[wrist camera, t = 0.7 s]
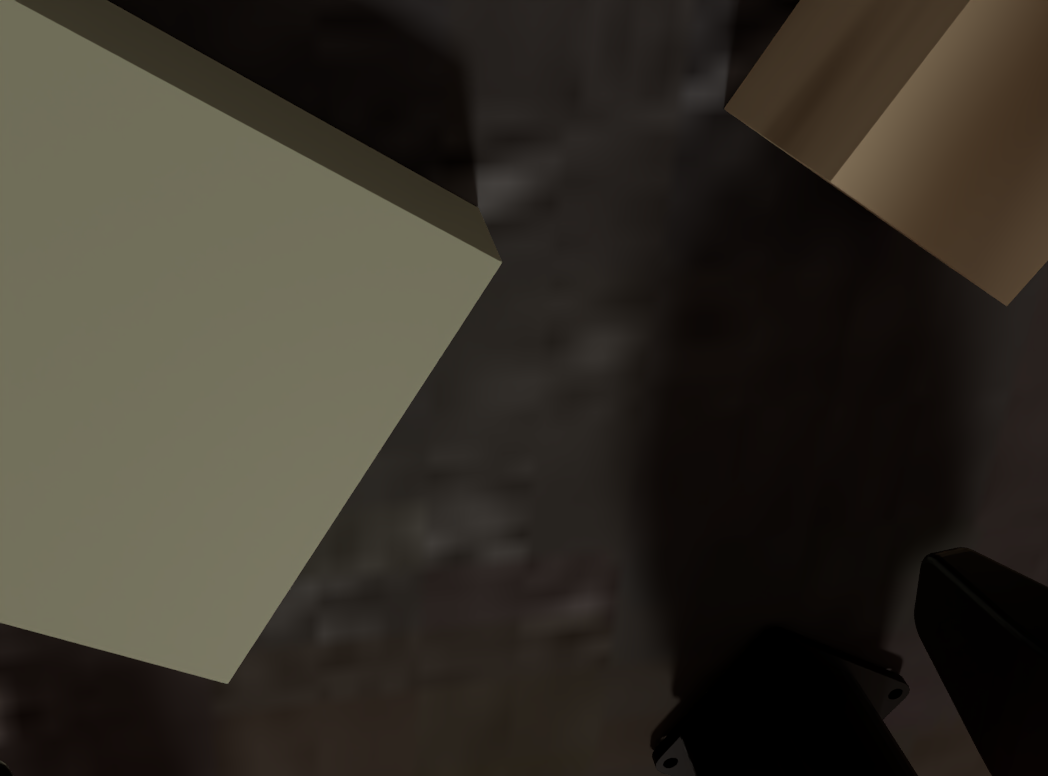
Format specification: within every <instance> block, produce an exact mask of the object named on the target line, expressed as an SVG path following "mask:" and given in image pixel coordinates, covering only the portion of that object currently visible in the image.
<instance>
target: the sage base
mask: <svg viewBox="0 0 1048 776" xmlns="http://www.w3.org/2000/svg"><path fill="white" fill-rule="evenodd" d="M501 264H502V261H501V259H500V256H499V254H498V252H497V249H496V247H495V245H494V242H493V240H492V238H491V236H490V233H489V231H488V229H487V226H486V224H485V222H484V220H483V217H482V215H481V213H480V210H479V208H478V207H476V206H474V205H472V204H470V203H469V202H467V201H465V200H463V199H461V198H460V197H458V196H456V195H454V194H453V193H451V192H449V191H447V190H445V189H444V188H442V187H440V186H438V185H436V184H435V183H433V182H431V181H429V180H427V179H426V178H424V177H422V176H420V175H419V174H417V173H415V172H413V171H411V170H410V169H408V168H406V167H404V166H402V165H401V164H399V163H397V162H395V161H394V160H392V159H390V158H388V157H386V156H385V155H383V154H381V153H379V152H377V151H376V150H374V149H372V148H370V147H368V146H367V145H365V144H363V143H361V142H360V141H358V140H356V139H354V138H352V137H351V136H349V135H347V134H345V133H343V132H342V131H340V130H338V129H336V128H335V127H333V126H331V125H329V124H327V123H326V122H324V121H322V120H320V119H318V118H317V117H315V116H313V115H311V114H309V113H308V112H306V111H304V110H302V109H301V108H299V107H297V106H295V105H293V104H292V103H290V102H288V101H286V100H284V99H283V98H281V97H279V96H277V95H276V94H274V93H272V92H270V91H268V90H267V89H265V88H263V87H261V86H259V85H258V84H256V83H254V82H252V81H250V80H249V79H247V78H245V77H243V76H242V75H240V74H238V73H236V72H234V71H233V70H231V69H229V68H227V67H225V66H224V65H222V64H220V63H218V62H217V61H215V60H213V59H211V58H209V57H208V56H206V55H204V54H202V53H200V52H199V51H197V50H195V49H193V48H191V47H190V46H188V45H186V44H184V43H183V42H181V41H179V40H177V39H175V38H174V37H172V36H170V35H168V34H166V33H165V32H163V31H161V30H159V29H158V28H156V27H154V26H152V25H150V24H149V23H147V22H145V21H143V20H141V19H140V18H138V17H136V16H134V15H132V14H131V13H129V12H127V11H125V10H124V9H122V8H120V7H118V6H116V5H115V4H113V3H111V2H109V1H107V0H0V623H3V624H7V625H11V626H15V627H18V628H22V629H26V630H29V631H33V632H37V633H41V634H44V635H48V636H52V637H55V638H59V639H63V640H66V641H70V642H74V643H78V644H81V645H85V646H89V647H92V648H96V649H100V650H104V651H107V652H111V653H115V654H118V655H122V656H126V657H130V658H133V659H137V660H141V661H144V662H148V663H152V664H155V665H159V666H163V667H167V668H170V669H174V670H178V671H181V672H185V673H189V674H193V675H196V676H200V677H204V678H207V679H211V680H215V681H219V682H222V683H226V684H228V683H229V681H230V680H231V678H232V677H233V675H234V674H235V672H236V670H237V669H238V667H239V666H240V664H241V663H242V661H243V660H244V658H245V657H246V655H247V654H248V652H249V651H250V649H251V647H252V646H253V644H254V643H255V641H256V640H257V638H258V637H259V635H260V634H261V632H262V631H263V629H264V627H265V626H266V624H267V623H268V621H269V620H270V618H271V617H272V615H273V614H274V612H275V611H276V609H277V608H278V606H279V604H280V603H281V601H282V600H283V598H284V597H285V595H286V594H287V592H288V591H289V589H290V588H291V586H292V584H293V583H294V581H295V580H296V578H297V577H298V575H299V574H300V572H301V571H302V569H303V568H304V566H305V565H306V563H307V561H308V560H309V558H310V557H311V555H312V554H313V552H314V551H315V549H316V548H317V546H318V545H319V543H320V541H321V540H322V538H323V537H324V535H325V534H326V532H327V531H328V529H329V528H330V526H331V525H332V523H333V522H334V520H335V518H336V517H337V515H338V514H339V512H340V511H341V509H342V508H343V506H344V505H345V503H346V502H347V500H348V498H349V497H350V495H351V494H352V492H353V491H354V489H355V488H356V486H357V485H358V483H359V482H360V480H361V479H362V477H363V475H364V474H365V472H366V471H367V469H368V468H369V466H370V465H371V463H372V462H373V460H374V459H375V457H376V455H377V454H378V452H379V451H380V449H381V448H382V446H383V445H384V443H385V442H386V440H387V439H388V437H389V436H390V434H391V432H392V431H393V429H394V428H395V426H396V425H397V423H398V422H399V420H400V419H401V417H402V416H403V414H404V412H405V411H406V409H407V408H408V406H409V405H410V403H411V402H412V400H413V399H414V397H415V396H416V394H417V393H418V391H419V389H420V388H421V386H422V385H423V383H424V382H425V380H426V379H427V377H428V376H429V374H430V373H431V371H432V369H433V368H434V366H435V365H436V363H437V362H438V360H439V359H440V357H441V356H442V354H443V353H444V351H445V350H446V348H447V346H448V345H449V343H450V342H451V340H452V339H453V337H454V336H455V334H456V333H457V331H458V330H459V328H460V326H461V325H462V323H463V322H464V320H465V319H466V317H467V316H468V314H469V313H470V311H471V310H472V308H473V307H474V305H475V303H476V302H477V300H478V299H479V297H480V296H481V294H482V293H483V291H484V290H485V288H486V287H487V285H488V283H489V282H490V280H491V279H492V277H493V276H494V274H495V273H496V271H497V270H498V268H499V267H500V265H501Z"/></svg>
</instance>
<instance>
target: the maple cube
mask: <svg viewBox="0 0 1048 776" xmlns="http://www.w3.org/2000/svg"><path fill="white" fill-rule="evenodd" d="M724 110H726V111H727V112H729V113H730V114H732V115H733V116H734V117H736V118H737V119H739V120H740V121H741V122H743V123H744V124H746V125H747V126H749V127H750V128H751V129H753V130H754V131H756V132H757V133H759V134H760V135H761V136H763V137H764V138H766V139H767V140H768V141H770V142H771V143H773V144H774V145H776V146H777V147H778V148H780V149H781V150H783V151H784V152H786V153H787V154H788V155H790V156H791V157H793V158H794V159H795V160H797V161H798V162H800V163H801V164H803V165H804V166H805V167H807V168H808V169H810V170H811V171H812V172H814V173H815V174H817V175H818V176H820V177H821V178H822V179H824V180H825V181H827V182H828V183H830V184H831V185H832V186H834V187H835V188H837V189H838V190H839V191H841V192H842V193H844V194H845V195H847V196H848V197H849V198H851V199H852V200H854V201H855V202H856V203H858V204H859V205H861V206H862V207H864V208H865V209H866V210H868V211H869V212H871V213H872V214H874V215H875V216H876V217H878V218H879V219H881V220H882V221H884V222H885V223H887V224H888V225H889V226H891V227H892V228H894V229H895V230H897V231H898V232H900V233H901V234H903V235H904V236H905V237H907V238H908V239H910V240H911V241H913V242H914V243H916V244H917V245H919V246H920V247H921V248H923V249H924V250H926V251H927V252H929V253H930V254H932V255H933V256H934V257H936V258H937V259H939V260H940V261H942V262H943V263H945V264H946V265H948V266H949V267H950V268H952V269H953V270H955V271H956V272H958V273H959V274H961V275H962V276H964V277H965V278H966V279H968V280H969V281H971V282H972V283H974V284H975V285H977V286H978V287H980V288H981V289H982V290H984V291H985V292H987V293H988V294H990V295H991V296H993V297H994V298H996V299H997V300H998V301H1000V302H1001V303H1003V304H1004V305H1006V306H1007V305H1008V304H1009V303H1010V302H1011V301H1012V300H1013V299H1014V298H1015V296H1016V295H1017V294H1018V293H1019V292H1020V291H1021V290H1022V289H1023V287H1024V286H1025V285H1026V284H1027V283H1028V282H1029V281H1030V280H1031V278H1032V277H1033V276H1034V275H1035V274H1036V273H1037V272H1038V271H1039V269H1040V268H1041V267H1042V266H1043V265H1044V264H1045V263H1046V262H1047V261H1048V0H800V1H799V3H798V4H797V5H796V7H795V8H794V10H793V11H792V13H791V14H790V15H789V17H788V18H787V20H786V21H785V23H784V24H783V25H782V27H781V28H780V30H779V31H778V32H777V34H776V35H775V37H774V38H773V40H772V41H771V42H770V44H769V45H768V47H767V48H766V50H765V51H764V52H763V54H762V55H761V57H760V58H759V60H758V61H757V62H756V64H755V65H754V67H753V68H752V70H751V71H750V72H749V74H748V75H747V77H746V78H745V79H744V81H743V82H742V84H741V85H740V87H739V88H738V89H737V91H736V92H735V94H734V95H733V97H732V98H731V99H730V101H729V102H728V104H727V105H726V107H725V108H724Z"/></svg>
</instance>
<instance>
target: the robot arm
mask: <svg viewBox="0 0 1048 776" xmlns="http://www.w3.org/2000/svg"><path fill="white" fill-rule="evenodd" d="M914 619H915V625H916V629H917V632H918V634H919V637H920V639H921V641H922V643H923V645H924V647H925V649H926V650H927V652H928V654H929V656H930V658H931V660H932V662H933V664H934V666H935V668H936V670H937V672H938V674H939V676H940V678H941V680H942V682H943V684H944V686H945V687H946V689H947V691H948V693H949V695H950V697H951V699H952V701H953V703H954V705H955V707H956V709H957V711H958V713H959V715H960V717H961V719H962V721H963V723H964V724H965V726H966V728H967V730H968V732H969V734H970V736H971V738H972V740H973V742H974V744H975V746H976V748H977V750H978V752H979V753H980V755H981V757H982V759H983V761H984V763H985V764H986V766H987V768H988V770H989V772H990V773H991V775H992V776H1048V587H1047V586H1045V585H1043V584H1041V583H1039V582H1037V581H1035V580H1033V579H1030V578H1028V577H1026V576H1024V575H1022V574H1020V573H1018V572H1016V571H1014V570H1012V569H1010V568H1008V567H1006V566H1004V565H1002V564H1000V563H998V562H996V561H994V560H992V559H990V558H988V557H986V556H984V555H982V554H980V553H978V552H976V551H974V550H971V549H968V548H964V547H958V548H953V549H949V550H944V551H940V552H935V553H930V554H929V555H927V556H926V557H925V558H924V559H923V561H922V563H921V568H920V574H919V581H918V588H917V595H916V602H915V609H914ZM909 690H910V689H909V686H908V685H907V683H906V682H905V680H904V679H903V677H902V676H900V675H899V674H896V673H894V672H891V671H889V670H886V669H884V668H881V667H879V666H876V665H874V664H871V663H869V662H866V661H864V660H861V659H859V658H856V657H854V656H851V655H849V654H846V653H844V652H841V651H839V650H836V649H834V648H831V647H829V646H826V645H824V644H821V643H819V642H816V641H814V640H811V639H809V638H806V637H804V636H801V635H799V634H796V633H794V632H791V631H789V630H786V629H784V628H780V627H774V628H770V629H768V630H765V631H764V632H763V633H762V634H760V636H759V637H758V638H757V639H756V640H755V641H754V642H753V643H752V644H751V645H750V646H749V647H748V649H747V650H746V651H745V652H744V653H743V654H742V655H741V656H740V657H739V658H738V659H737V661H736V662H735V663H734V664H733V665H732V666H731V667H730V668H729V669H728V670H727V671H726V673H725V674H724V675H723V676H722V677H721V678H720V679H719V680H718V681H717V682H716V683H715V685H714V686H713V687H712V688H711V689H710V690H709V691H708V692H707V693H706V694H705V695H704V697H703V698H702V699H701V700H700V701H699V702H698V703H697V704H696V705H695V706H694V707H693V708H692V710H691V711H690V712H689V713H688V714H687V715H686V716H685V717H684V718H683V719H682V720H681V722H680V723H679V724H678V725H677V726H676V727H675V728H674V729H673V730H672V731H671V732H670V734H669V735H668V736H667V737H666V738H665V739H664V740H663V741H662V742H661V743H660V744H659V746H658V747H657V748H656V749H655V750H654V752H653V754H652V758H653V761H654V764H655V766H656V768H657V770H658V771H659V772H661V773H664V774H668V775H671V776H918V775H917V773H916V772H915V770H914V769H913V767H912V766H911V764H910V762H909V761H908V759H907V758H906V756H905V755H904V753H903V751H902V750H901V748H900V747H899V745H898V744H897V742H896V741H895V739H894V737H893V736H892V734H891V733H890V731H889V730H888V728H887V726H886V725H885V723H884V722H883V719H884V718H885V717H886V716H887V715H888V714H889V713H890V712H891V711H892V710H893V709H894V708H895V707H896V706H897V705H898V704H899V703H900V702H902V701H903V700H904V699H905V698H906V696H907V695H908V694H909ZM0 776H13V774H12V772H11V771H10V769H9V768H8V766H7V765H6V764H5V763H4V762H2V761H0Z"/></svg>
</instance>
